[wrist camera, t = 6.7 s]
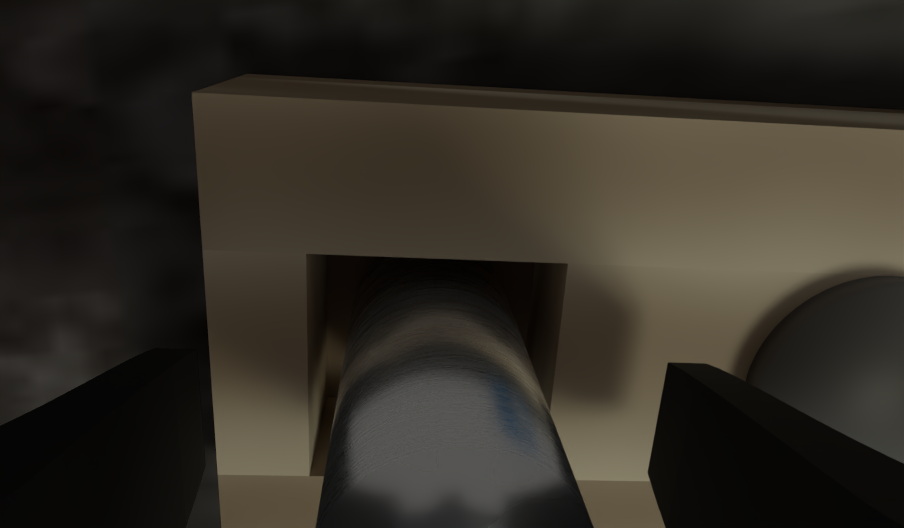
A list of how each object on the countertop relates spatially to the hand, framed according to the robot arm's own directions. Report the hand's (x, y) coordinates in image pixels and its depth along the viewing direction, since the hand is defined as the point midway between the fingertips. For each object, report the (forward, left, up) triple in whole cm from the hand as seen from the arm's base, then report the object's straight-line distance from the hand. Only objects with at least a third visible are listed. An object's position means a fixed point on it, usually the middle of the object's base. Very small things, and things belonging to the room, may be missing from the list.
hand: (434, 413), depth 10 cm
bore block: (0, -4, -5) cm, 6 cm away
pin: (0, 0, -4) cm, 4 cm away
